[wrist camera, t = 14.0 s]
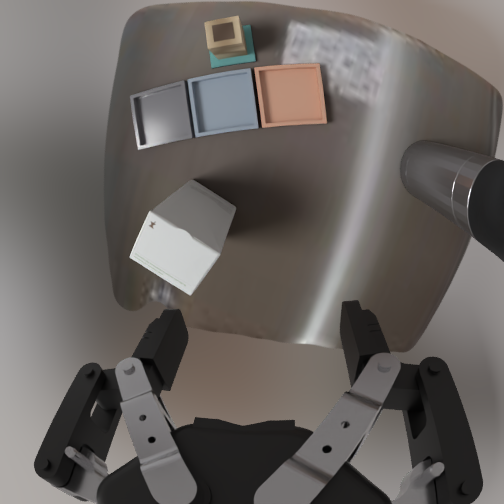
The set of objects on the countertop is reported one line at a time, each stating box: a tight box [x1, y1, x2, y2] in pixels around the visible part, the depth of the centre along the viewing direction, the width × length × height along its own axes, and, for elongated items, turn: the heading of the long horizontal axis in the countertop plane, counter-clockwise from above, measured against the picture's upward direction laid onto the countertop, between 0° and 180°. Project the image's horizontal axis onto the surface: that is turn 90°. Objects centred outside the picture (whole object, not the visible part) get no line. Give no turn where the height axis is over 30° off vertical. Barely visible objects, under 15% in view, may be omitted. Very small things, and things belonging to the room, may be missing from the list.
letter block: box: [205, 16, 248, 60], centre depth 26 cm, size 4×4×6 cm
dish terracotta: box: [254, 63, 327, 128], centre depth 32 cm, size 8×8×2 cm
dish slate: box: [188, 68, 259, 137], centre depth 33 cm, size 8×8×2 cm
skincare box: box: [130, 179, 236, 295], centre depth 33 cm, size 8×7×16 cm
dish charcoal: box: [130, 80, 195, 150], centre depth 34 cm, size 8×8×2 cm
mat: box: [209, 25, 256, 68], centre depth 29 cm, size 6×6×1 cm
